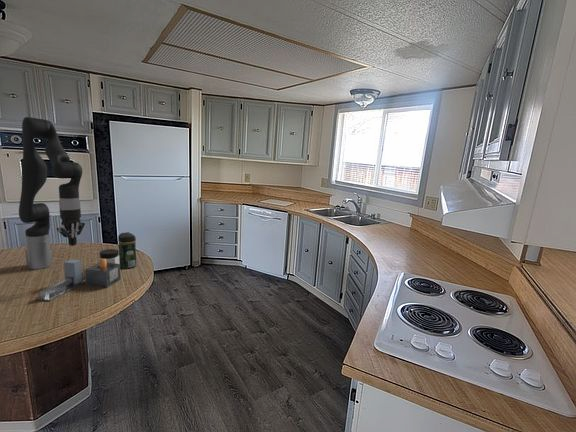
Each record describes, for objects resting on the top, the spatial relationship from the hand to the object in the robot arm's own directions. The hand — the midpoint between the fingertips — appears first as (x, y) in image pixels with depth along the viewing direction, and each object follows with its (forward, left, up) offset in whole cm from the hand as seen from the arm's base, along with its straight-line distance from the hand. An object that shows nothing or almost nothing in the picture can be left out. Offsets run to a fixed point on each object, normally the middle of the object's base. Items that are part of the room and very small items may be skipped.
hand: (72, 245), depth 135 cm
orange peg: (+10, +5, -16) cm, 20 cm away
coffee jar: (+8, +27, -19) cm, 34 cm away
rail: (-1, -6, -19) cm, 20 cm away
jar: (+6, +15, -19) cm, 25 cm away
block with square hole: (+10, +5, -19) cm, 22 cm away
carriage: (-1, 0, -19) cm, 19 cm away
